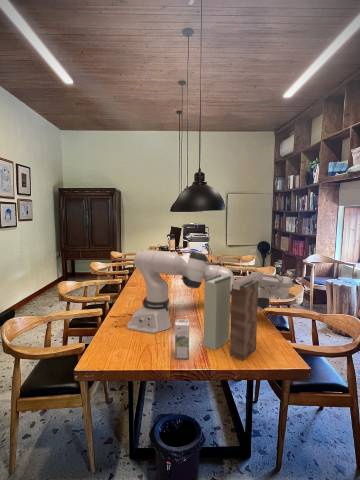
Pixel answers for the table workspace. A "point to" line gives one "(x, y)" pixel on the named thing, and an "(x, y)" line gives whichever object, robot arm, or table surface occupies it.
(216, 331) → the sage stand
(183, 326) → the syrup box
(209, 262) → the coffeepot
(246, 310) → the walnut stand
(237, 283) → the steel bar
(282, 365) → the table surface
